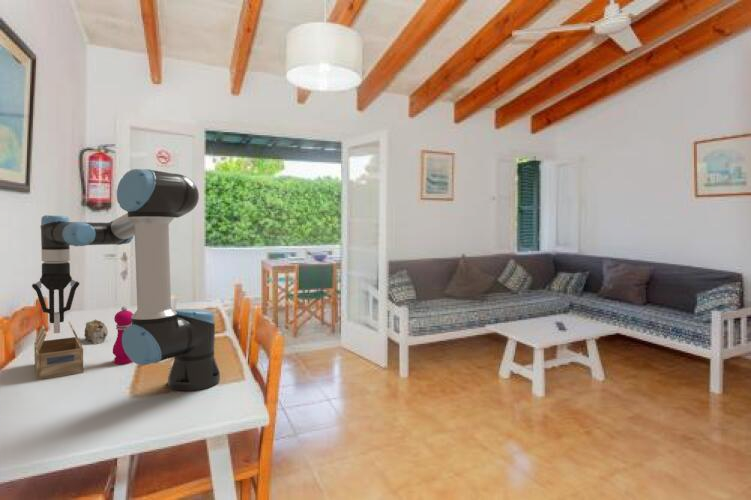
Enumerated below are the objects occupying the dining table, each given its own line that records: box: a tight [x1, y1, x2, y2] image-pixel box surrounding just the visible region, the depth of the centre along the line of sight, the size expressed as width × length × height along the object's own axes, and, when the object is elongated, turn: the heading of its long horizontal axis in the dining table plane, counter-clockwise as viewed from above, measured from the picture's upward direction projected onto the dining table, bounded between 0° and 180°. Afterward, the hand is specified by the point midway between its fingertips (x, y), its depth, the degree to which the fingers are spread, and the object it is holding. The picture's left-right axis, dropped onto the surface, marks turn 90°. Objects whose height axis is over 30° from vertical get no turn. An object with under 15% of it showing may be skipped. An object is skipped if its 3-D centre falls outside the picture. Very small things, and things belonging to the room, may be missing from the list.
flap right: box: [67, 321, 83, 347], centre depth 147 cm, size 16×6×1 cm
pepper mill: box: [112, 305, 134, 366], centre depth 153 cm, size 7×7×20 cm
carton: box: [33, 336, 84, 381], centre depth 145 cm, size 19×12×8 cm, turn 40°
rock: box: [83, 319, 109, 345], centre depth 180 cm, size 12×7×10 cm, turn 46°
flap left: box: [34, 324, 47, 352], centre depth 141 cm, size 16×6×1 cm
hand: (56, 332), depth 144 cm, fingers closed
